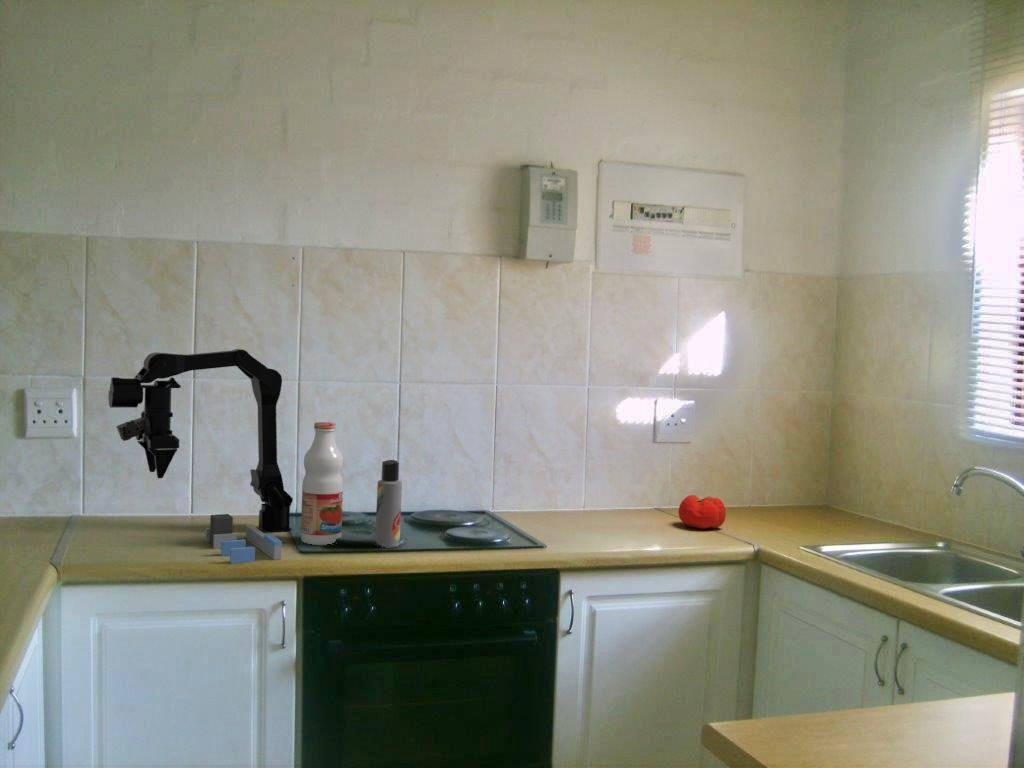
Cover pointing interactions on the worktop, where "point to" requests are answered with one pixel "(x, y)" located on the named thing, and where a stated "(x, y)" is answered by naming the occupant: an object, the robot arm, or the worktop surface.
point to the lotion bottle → (388, 506)
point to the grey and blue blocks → (239, 549)
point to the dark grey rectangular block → (220, 525)
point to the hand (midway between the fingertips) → (156, 475)
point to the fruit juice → (322, 488)
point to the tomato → (702, 512)
